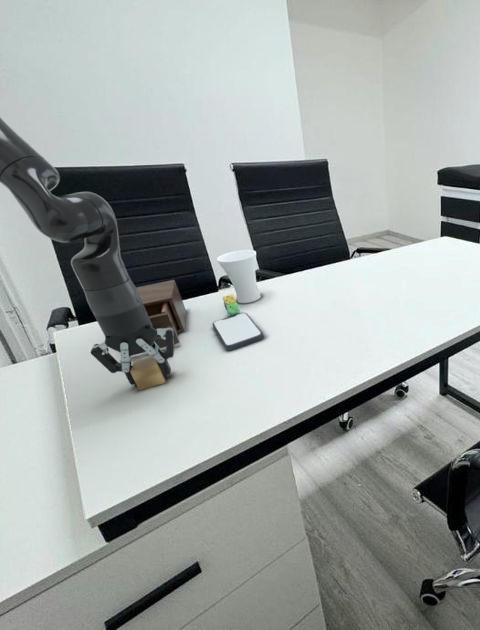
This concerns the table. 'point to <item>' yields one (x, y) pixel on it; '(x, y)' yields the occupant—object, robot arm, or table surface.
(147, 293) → the cabinet
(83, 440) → the table surface
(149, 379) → the maple cube
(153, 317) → the drawer
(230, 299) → the kitchen sponge
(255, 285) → the cup
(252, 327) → the phone case
